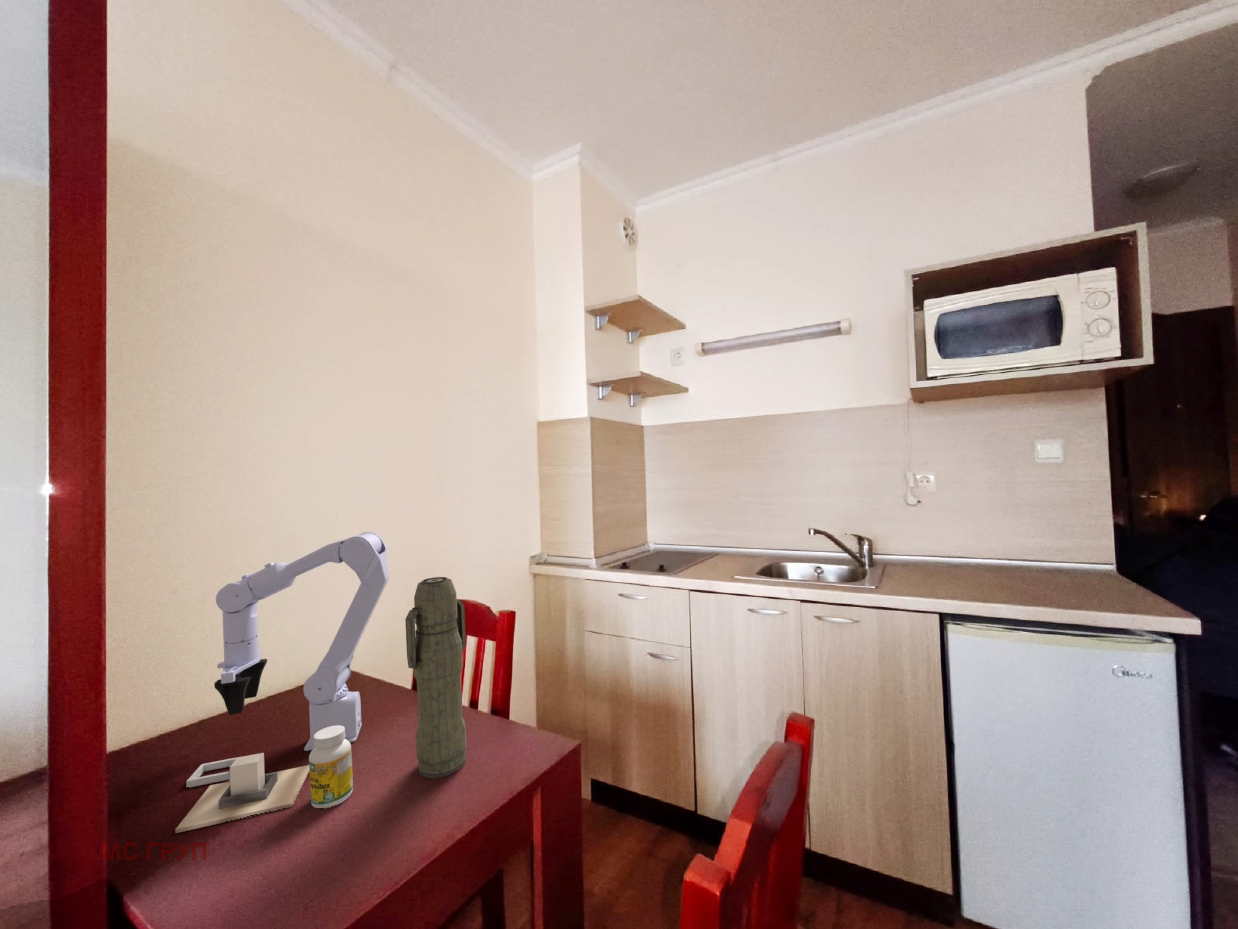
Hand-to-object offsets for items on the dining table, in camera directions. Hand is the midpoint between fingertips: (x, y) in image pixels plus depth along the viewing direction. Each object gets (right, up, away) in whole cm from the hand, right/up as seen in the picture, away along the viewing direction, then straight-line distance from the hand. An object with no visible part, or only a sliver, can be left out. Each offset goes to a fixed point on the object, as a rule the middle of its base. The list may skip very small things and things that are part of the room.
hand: (243, 705), depth 103 cm
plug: (+13, -8, -16) cm, 22 cm away
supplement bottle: (+28, -8, -17) cm, 34 cm away
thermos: (+44, -7, -8) cm, 46 cm away
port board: (+13, -9, -16) cm, 22 cm away
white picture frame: (+1, -9, -8) cm, 12 cm away
